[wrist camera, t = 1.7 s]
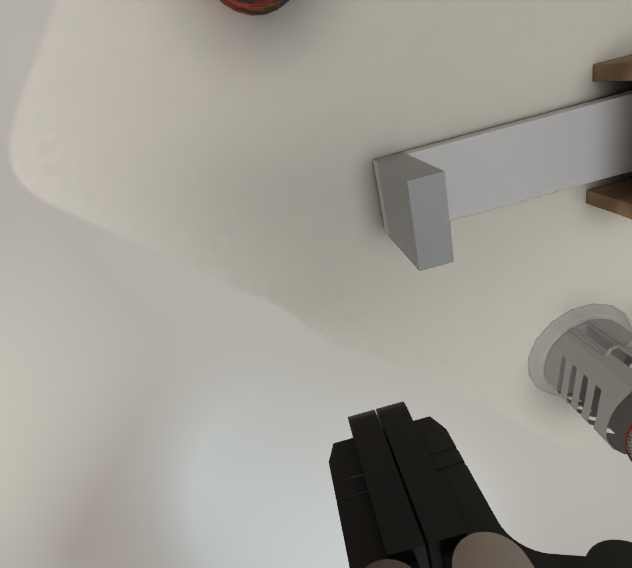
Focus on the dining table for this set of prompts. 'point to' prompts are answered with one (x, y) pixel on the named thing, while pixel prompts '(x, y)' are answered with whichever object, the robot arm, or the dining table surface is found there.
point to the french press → (590, 368)
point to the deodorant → (254, 6)
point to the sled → (498, 171)
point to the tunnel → (626, 194)
